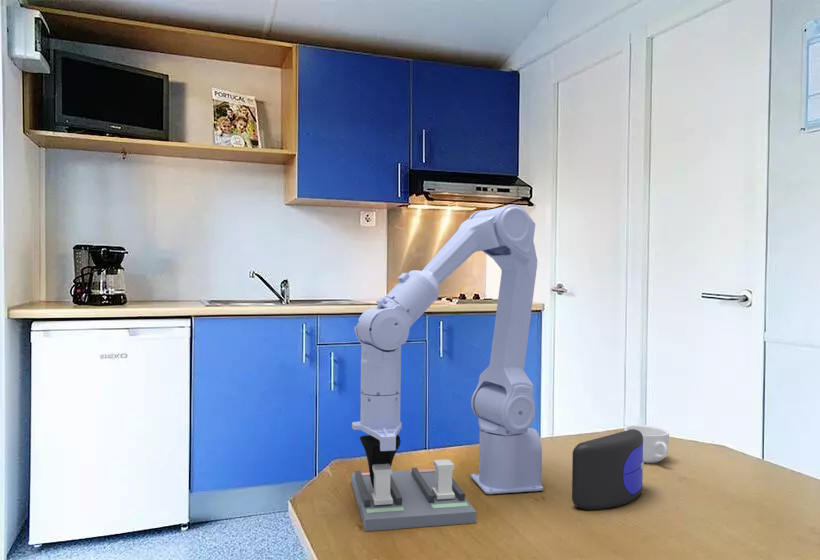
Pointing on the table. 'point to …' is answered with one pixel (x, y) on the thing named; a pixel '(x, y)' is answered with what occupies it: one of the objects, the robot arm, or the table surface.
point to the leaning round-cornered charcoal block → (608, 470)
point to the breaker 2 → (443, 479)
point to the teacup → (652, 442)
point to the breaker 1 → (381, 484)
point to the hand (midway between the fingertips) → (379, 486)
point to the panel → (410, 502)
